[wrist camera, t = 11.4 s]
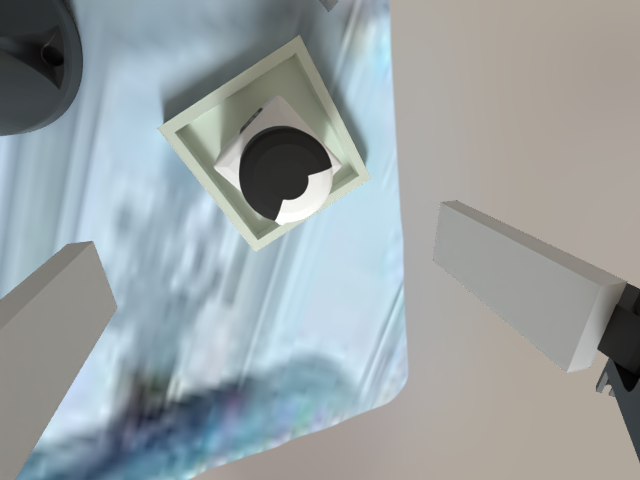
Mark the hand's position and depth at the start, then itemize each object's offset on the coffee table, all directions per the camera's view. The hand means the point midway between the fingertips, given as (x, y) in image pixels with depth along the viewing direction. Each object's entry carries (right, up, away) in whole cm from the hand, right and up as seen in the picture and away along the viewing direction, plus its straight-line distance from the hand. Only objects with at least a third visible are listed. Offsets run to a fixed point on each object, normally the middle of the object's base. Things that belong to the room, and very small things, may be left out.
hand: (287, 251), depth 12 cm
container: (-4, +10, +21) cm, 23 cm away
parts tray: (-4, +10, +21) cm, 23 cm away
